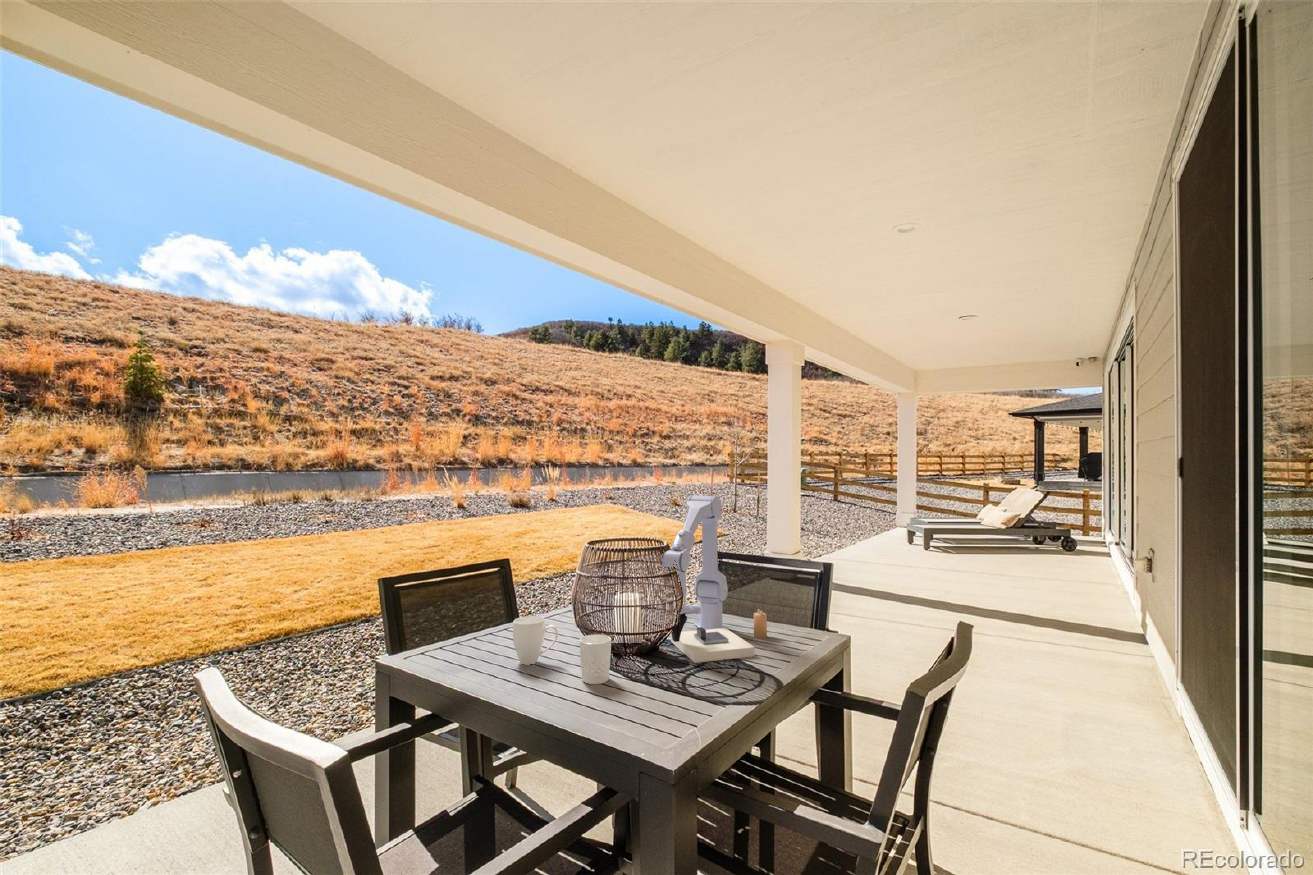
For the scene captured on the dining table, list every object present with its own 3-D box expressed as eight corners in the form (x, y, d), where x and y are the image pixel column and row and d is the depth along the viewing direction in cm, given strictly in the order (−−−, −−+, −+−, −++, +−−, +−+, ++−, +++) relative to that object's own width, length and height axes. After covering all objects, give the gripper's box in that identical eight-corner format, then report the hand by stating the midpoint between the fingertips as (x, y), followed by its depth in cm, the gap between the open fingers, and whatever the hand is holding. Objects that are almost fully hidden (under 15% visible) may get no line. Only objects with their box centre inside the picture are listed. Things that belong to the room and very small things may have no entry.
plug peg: (751, 635, 185) (751, 609, 185) (763, 634, 186) (762, 608, 186) (757, 639, 181) (757, 612, 181) (769, 638, 182) (769, 611, 183)
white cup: (617, 677, 149) (617, 637, 150) (598, 687, 142) (599, 645, 143) (592, 671, 153) (592, 632, 154) (572, 681, 146) (573, 640, 147)
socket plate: (670, 641, 179) (670, 632, 179) (725, 635, 184) (725, 627, 185) (694, 662, 160) (694, 653, 160) (754, 656, 165) (754, 647, 165)
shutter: (694, 636, 175) (694, 625, 175) (717, 634, 177) (717, 623, 177) (703, 644, 168) (703, 632, 168) (728, 641, 170) (728, 630, 170)
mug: (509, 668, 156) (509, 624, 156) (516, 657, 164) (517, 615, 165) (555, 667, 156) (555, 624, 156) (560, 657, 164) (560, 615, 165)
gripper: (655, 597, 164) (655, 647, 163) (704, 593, 168) (704, 642, 167) (648, 592, 170) (648, 639, 170) (695, 588, 175) (695, 635, 174)
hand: (675, 640), depth 169 cm, fingers closed
